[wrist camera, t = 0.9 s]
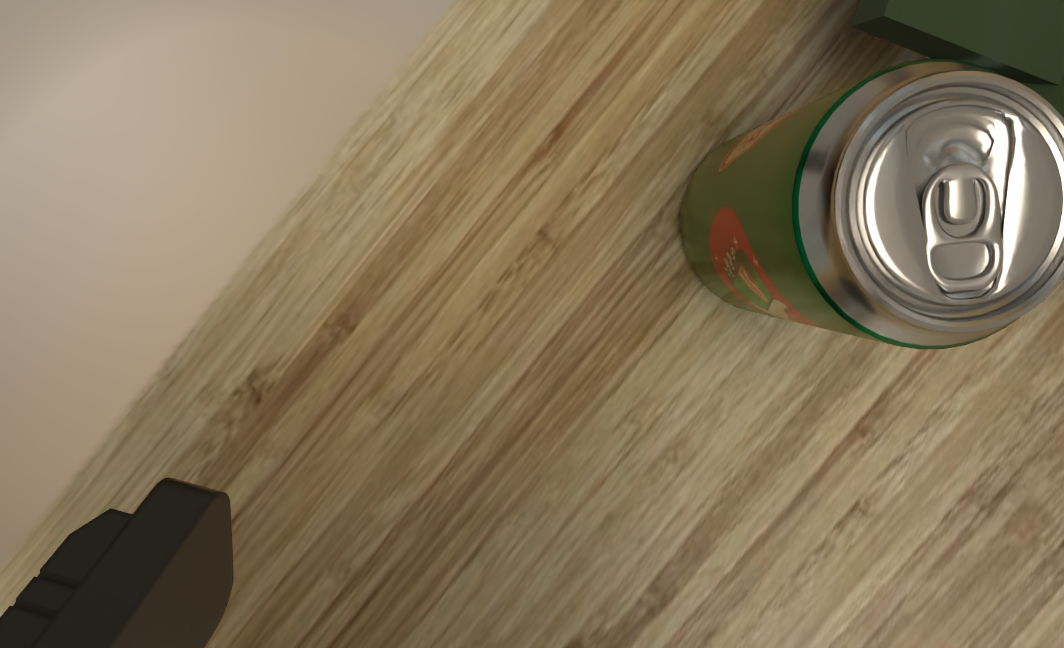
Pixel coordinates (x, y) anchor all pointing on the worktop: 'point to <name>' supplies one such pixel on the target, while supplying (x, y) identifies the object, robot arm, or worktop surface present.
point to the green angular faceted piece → (979, 36)
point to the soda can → (889, 208)
